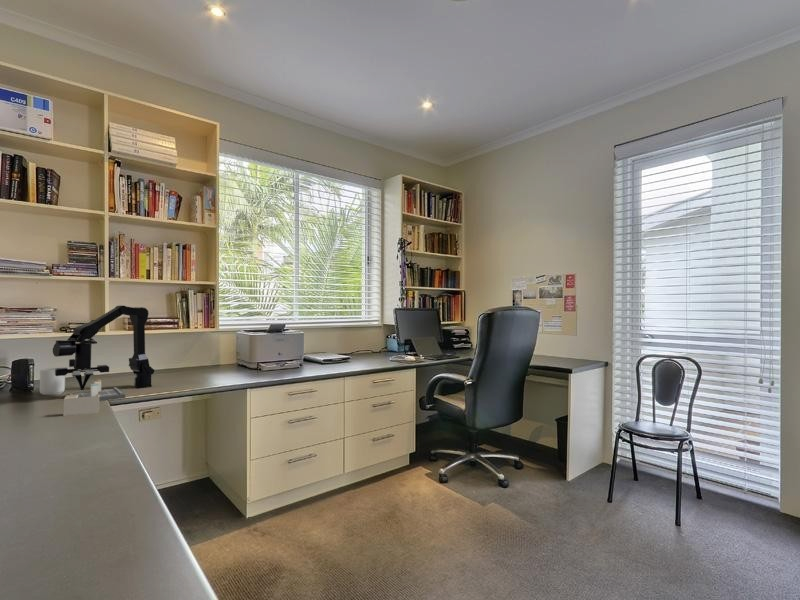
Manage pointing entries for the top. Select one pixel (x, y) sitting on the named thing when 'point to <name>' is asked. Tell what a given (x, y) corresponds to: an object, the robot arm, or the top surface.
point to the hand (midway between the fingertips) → (82, 389)
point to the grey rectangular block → (98, 384)
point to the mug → (51, 382)
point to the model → (80, 405)
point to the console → (102, 394)
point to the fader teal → (94, 389)
